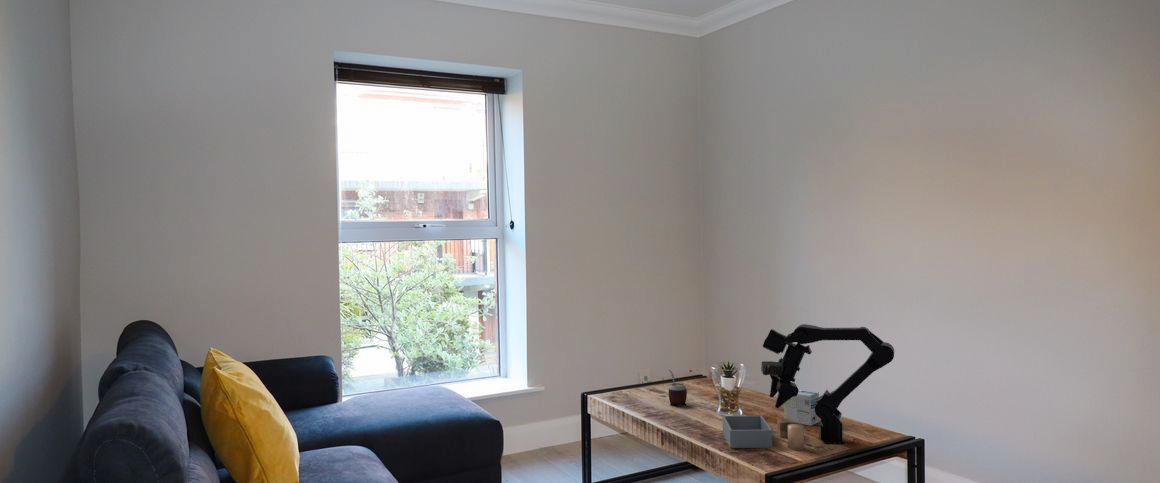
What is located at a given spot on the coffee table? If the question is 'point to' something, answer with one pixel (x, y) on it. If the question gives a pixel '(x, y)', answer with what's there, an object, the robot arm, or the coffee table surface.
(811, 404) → the light bulb box
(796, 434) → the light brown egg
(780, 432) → the walnut cube
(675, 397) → the mate gourd
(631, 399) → the coffee table surface
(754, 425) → the box
